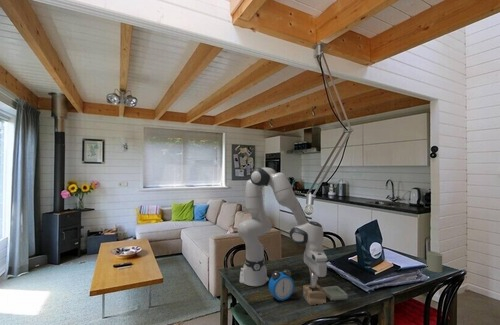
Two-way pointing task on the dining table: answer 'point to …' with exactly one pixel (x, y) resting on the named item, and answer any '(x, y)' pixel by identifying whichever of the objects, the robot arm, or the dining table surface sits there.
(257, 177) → the robot arm
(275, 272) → the alarm clock
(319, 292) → the block
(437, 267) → the can
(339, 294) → the tray
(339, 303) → the dining table surface
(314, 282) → the pin
